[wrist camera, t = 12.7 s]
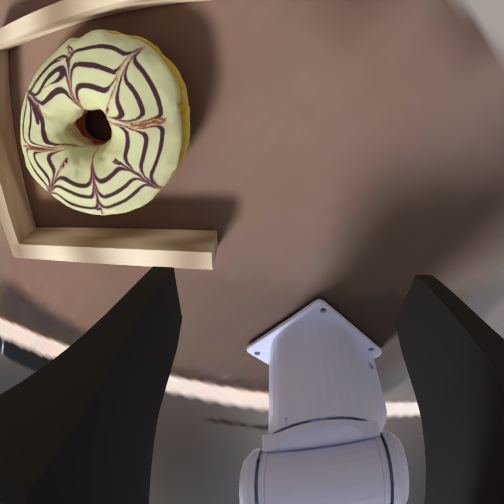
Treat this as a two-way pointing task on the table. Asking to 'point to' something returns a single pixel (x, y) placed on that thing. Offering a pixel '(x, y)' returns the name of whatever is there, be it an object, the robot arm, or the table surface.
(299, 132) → the table surface
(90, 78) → the decorated donut
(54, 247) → the u-shaped wooden bracket
